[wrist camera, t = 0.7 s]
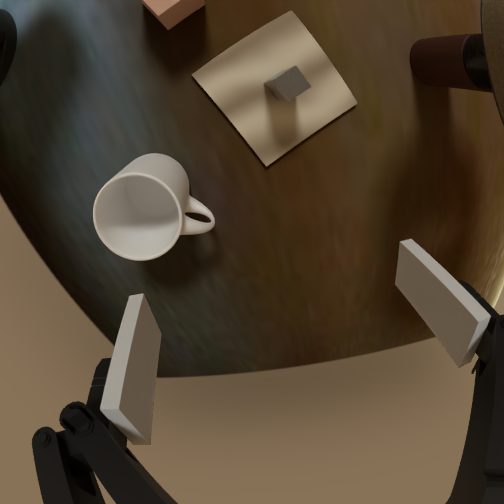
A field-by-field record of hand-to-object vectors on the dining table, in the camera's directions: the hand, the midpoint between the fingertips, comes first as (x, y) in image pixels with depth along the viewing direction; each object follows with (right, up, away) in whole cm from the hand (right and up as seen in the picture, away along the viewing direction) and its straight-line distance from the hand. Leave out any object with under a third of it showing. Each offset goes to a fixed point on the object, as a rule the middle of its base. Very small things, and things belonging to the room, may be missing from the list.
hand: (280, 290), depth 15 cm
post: (+2, +21, +17) cm, 27 cm away
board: (+2, +21, +17) cm, 27 cm away
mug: (-11, +9, +22) cm, 26 cm away
